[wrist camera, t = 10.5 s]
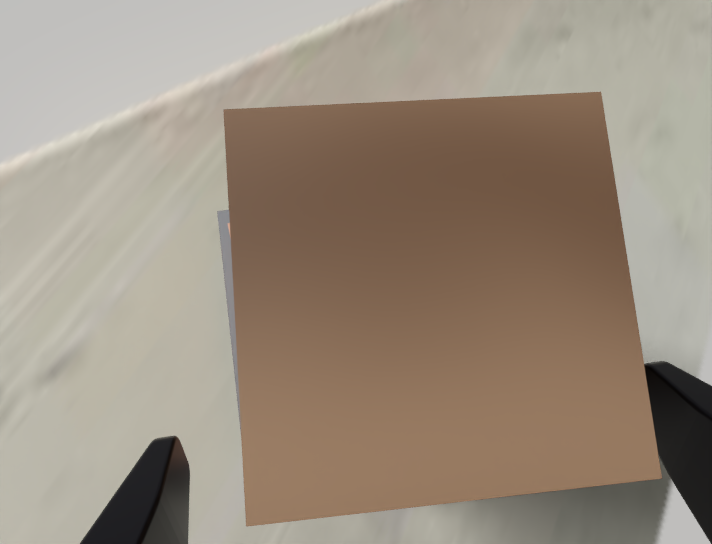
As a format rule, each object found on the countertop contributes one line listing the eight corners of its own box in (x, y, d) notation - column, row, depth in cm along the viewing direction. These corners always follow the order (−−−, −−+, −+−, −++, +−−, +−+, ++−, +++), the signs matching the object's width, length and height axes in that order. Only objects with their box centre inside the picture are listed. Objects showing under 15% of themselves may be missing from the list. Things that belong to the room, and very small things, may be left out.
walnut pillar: (436, 392, 18) (662, 478, 6) (293, 406, 18) (245, 525, 6) (422, 251, 19) (601, 91, 7) (282, 262, 18) (223, 108, 7)
